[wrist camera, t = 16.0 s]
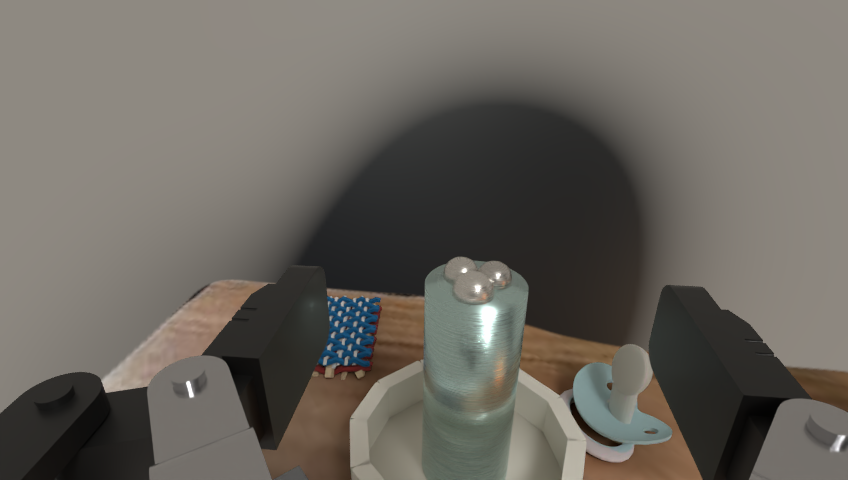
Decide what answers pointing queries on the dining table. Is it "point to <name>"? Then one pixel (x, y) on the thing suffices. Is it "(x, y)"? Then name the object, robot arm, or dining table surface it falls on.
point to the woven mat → (349, 337)
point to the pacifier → (616, 404)
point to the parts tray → (293, 475)
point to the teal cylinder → (471, 368)
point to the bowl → (402, 432)
